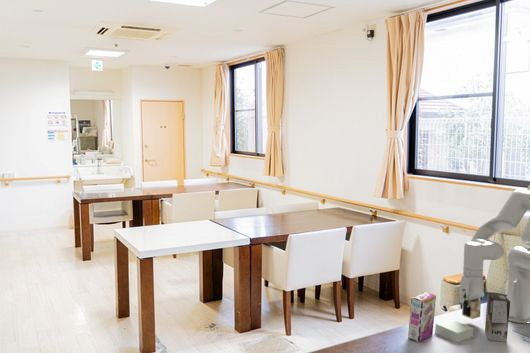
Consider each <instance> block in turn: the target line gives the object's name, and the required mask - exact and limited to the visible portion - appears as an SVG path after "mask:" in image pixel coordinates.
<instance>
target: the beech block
mask: <svg viewBox="0 0 530 353" xmlns="http://www.w3.org/2000/svg"><path fill="white" fill-rule="evenodd" d="M466 302H467V303H468V301H467V300H466ZM461 305H462V304H461ZM481 306H482V300H478V299H473V300H471V303H470V307H471V311H470V316H466V315H464V314H463V305H462V307H461V308H462V309H461V310H462V312H461V316H464V317H466V318H469V319H471V320H474V319H477V318H481V309H482V307H481Z"/></svg>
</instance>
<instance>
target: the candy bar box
mask: <svg viewBox="0 0 530 353" xmlns="http://www.w3.org/2000/svg"><path fill="white" fill-rule="evenodd" d="M436 301H437V295H436V294H432V293H429V292H427V291H425V292H423V293H420V294H417V295H415V296H412V297H411V300H410V313H409V325H408V334H407V335H408V336H407V339H408V340H411V341H413V342H417V343H420V342H422V341H424V340H426V339H427V338H429V337H431V336H433V332H434V324H435V322H434V321H435V313H436V312H435V311H436V310H435V309H436Z"/></svg>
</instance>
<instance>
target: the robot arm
mask: <svg viewBox="0 0 530 353" xmlns="http://www.w3.org/2000/svg"><path fill="white" fill-rule="evenodd" d="M500 209H501V210H500V211H499V213H498V214H497V215H496V216H495V217H494V218H492V219H490V220H488V221H487V222H485V223H483V225H481V226H480V227H478V229H477V230H476V232H475V233H474V235H473V237H472V239H471V240H470V241H466V242H465V243H464V246H463V265H462V266H463V268H462V269H463V270H462V275H461V279H460V284H459V295H458V296H459V298H458V301H459V302H460V304H461V305H463V314H464V315H466V316H470V311H471V307H470V303H471V300H473V299H478V300H481V301H482V300H483V298H484V296H485V292H484V291H485V290H484V289H485V288H484V284H485V282H484V275H483V274H484V261H486V260H487V261H497V260H499V259H501V258H503V256H504V255H505V250H504V247H503V245H502V244H500V243H499V242H496V241H494V240H490V238H491V237H493V236H494V235H496V234H497V233H500V232H505V231H508V230H514V229H516V228H517V227H518V225H519V223H521V220H522V218H523V217H524V215H525V214H526V213H527V212H528V211H529V212H530V184H529V185H528V186H527V189H523V188H519V189H515V190H513V192H512V193H511V194H510V196H509V197H508V199H507V200H506V202H505V204H504V205H503V207H502V208H500ZM520 236H521V241H522V243H524V244H525V245H527V246H530V216H529V217H528V219H527V221H526V223H525V226H524V228H523V230H522V233H521V235H520ZM507 263H508V282H507V283H508V284H507V294H506V297H507V298H508V300H509V301H510V311H509V321H510V322H513V323H517V324H526V323H527V322H530V248H529V247H526V246H523V245H522V246H520V245H517V246H514V247H512V248H511V249H510V250H509V251H508V255H507ZM466 300H467V301H468V303H467V302H466ZM466 316H465V317H466ZM527 324H528V323H527Z"/></svg>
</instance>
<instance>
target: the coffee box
mask: <svg viewBox="0 0 530 353" xmlns="http://www.w3.org/2000/svg"><path fill="white" fill-rule="evenodd" d="M509 311H510V301H509V300H508V298H507V295H505V294H502V293H501V294H500V293H487V298H486V312H485V313H486V314H485V324H484V325H485V326H484V333H485V334H486V336H487V337H488V339H489V341H495V342H502V343H507V341H508V332H509V331H508V330H509V323H510V322H509Z"/></svg>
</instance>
